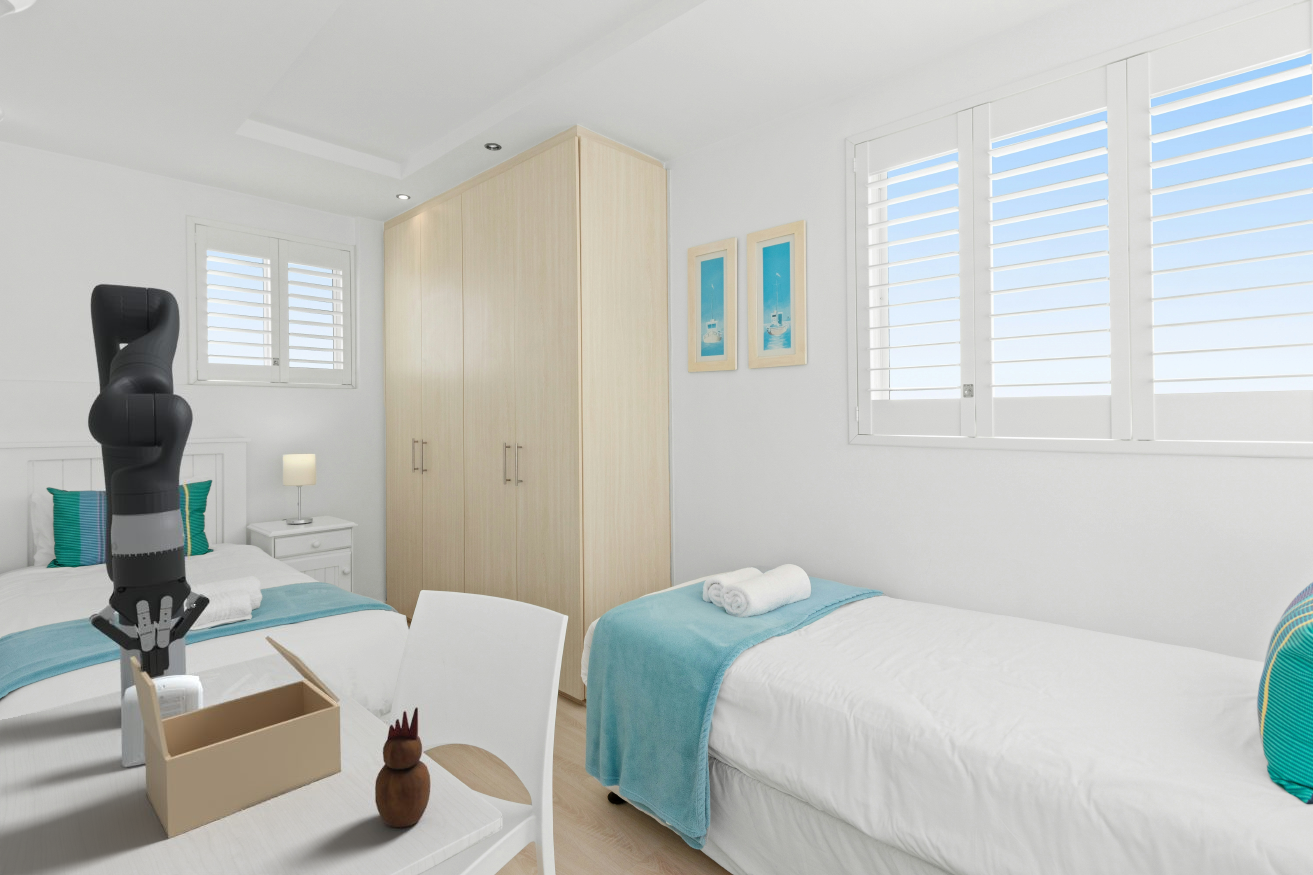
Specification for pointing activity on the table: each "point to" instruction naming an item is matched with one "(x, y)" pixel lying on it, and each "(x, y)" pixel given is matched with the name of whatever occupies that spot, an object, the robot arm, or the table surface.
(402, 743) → the wooden figurine
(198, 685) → the photo printer
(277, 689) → the carton
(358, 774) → the table surface
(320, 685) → the far flap
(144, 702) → the near flap
